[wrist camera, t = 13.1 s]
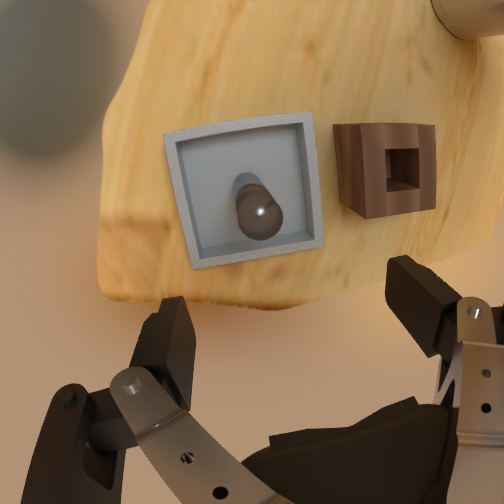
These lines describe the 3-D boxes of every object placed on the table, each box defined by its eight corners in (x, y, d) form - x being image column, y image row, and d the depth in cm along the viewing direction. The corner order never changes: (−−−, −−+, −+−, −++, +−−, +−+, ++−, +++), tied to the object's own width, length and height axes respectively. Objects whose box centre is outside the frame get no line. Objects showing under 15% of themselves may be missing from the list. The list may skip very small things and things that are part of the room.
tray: (301, 113, 28) (311, 111, 25) (313, 233, 34) (324, 246, 30) (170, 133, 28) (162, 134, 24) (195, 254, 34) (192, 269, 30)
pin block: (399, 123, 29) (434, 125, 23) (402, 193, 33) (435, 208, 27) (332, 124, 29) (360, 124, 23) (339, 201, 33) (365, 219, 26)
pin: (259, 170, 30) (280, 193, 19) (263, 197, 31) (285, 236, 20) (230, 174, 30) (234, 201, 19) (235, 202, 31) (241, 243, 20)
